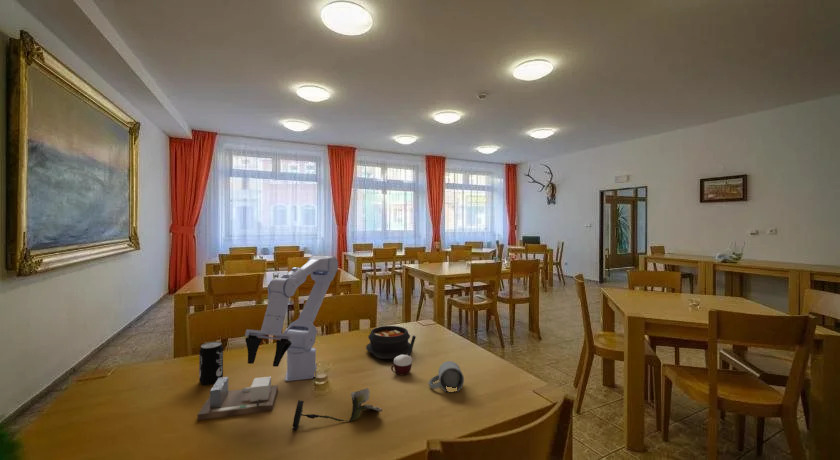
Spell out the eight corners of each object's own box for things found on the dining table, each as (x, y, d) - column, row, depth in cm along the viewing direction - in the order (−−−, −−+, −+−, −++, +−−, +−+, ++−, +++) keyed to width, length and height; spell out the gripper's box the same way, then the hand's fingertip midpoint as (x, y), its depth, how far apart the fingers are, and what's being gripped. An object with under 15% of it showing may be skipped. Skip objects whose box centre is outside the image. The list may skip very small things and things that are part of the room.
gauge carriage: (271, 389, 101) (271, 376, 101) (266, 404, 93) (266, 389, 93) (245, 392, 99) (245, 379, 99) (238, 407, 91) (238, 393, 91)
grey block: (228, 393, 99) (228, 376, 99) (220, 408, 91) (220, 389, 91) (218, 394, 98) (218, 377, 98) (210, 409, 91) (210, 390, 90)
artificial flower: (294, 422, 90) (300, 382, 93) (378, 424, 94) (382, 385, 97) (289, 432, 82) (296, 388, 84) (381, 434, 86) (385, 391, 88)
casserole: (416, 362, 127) (417, 340, 127) (366, 365, 124) (367, 342, 124) (407, 340, 152) (407, 321, 152) (365, 342, 148) (365, 323, 148)
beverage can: (211, 386, 106) (211, 348, 106) (194, 384, 108) (194, 347, 107) (227, 377, 113) (227, 341, 112) (210, 375, 114) (210, 340, 114)
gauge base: (277, 389, 105) (277, 384, 105) (272, 410, 93) (272, 404, 93) (211, 397, 100) (211, 392, 100) (197, 420, 88) (197, 414, 88)
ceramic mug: (459, 380, 112) (459, 357, 112) (464, 392, 104) (464, 368, 104) (428, 381, 112) (427, 358, 111) (429, 394, 103) (429, 369, 103)
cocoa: (392, 378, 114) (391, 344, 113) (389, 370, 120) (388, 337, 119) (419, 375, 116) (418, 340, 115) (415, 366, 122) (414, 334, 121)
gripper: (245, 313, 99) (231, 362, 95) (292, 317, 98) (280, 367, 93) (257, 316, 106) (245, 362, 101) (301, 320, 105) (291, 367, 100)
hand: (262, 365), depth 98 cm, fingers open, 7 cm apart
